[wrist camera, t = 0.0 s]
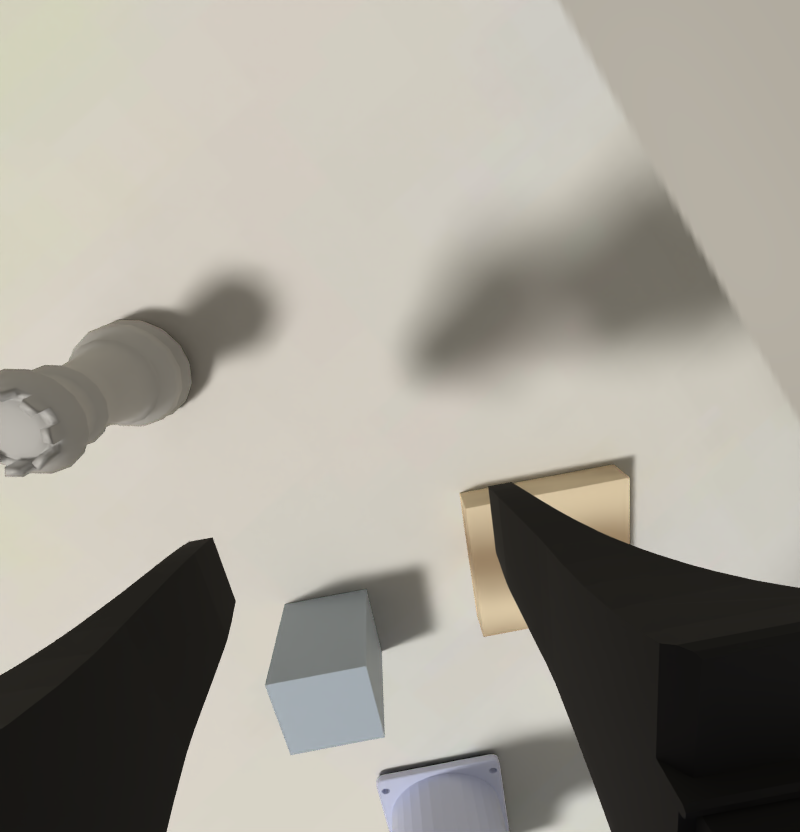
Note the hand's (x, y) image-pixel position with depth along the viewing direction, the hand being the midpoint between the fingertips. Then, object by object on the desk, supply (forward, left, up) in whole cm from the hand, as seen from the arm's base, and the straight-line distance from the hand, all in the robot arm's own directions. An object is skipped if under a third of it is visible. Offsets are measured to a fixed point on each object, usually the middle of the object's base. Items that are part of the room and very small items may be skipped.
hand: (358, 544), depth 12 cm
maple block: (-9, -8, -11) cm, 16 cm away
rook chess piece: (+4, +9, -10) cm, 14 cm away
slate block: (-12, +4, -10) cm, 16 cm away
